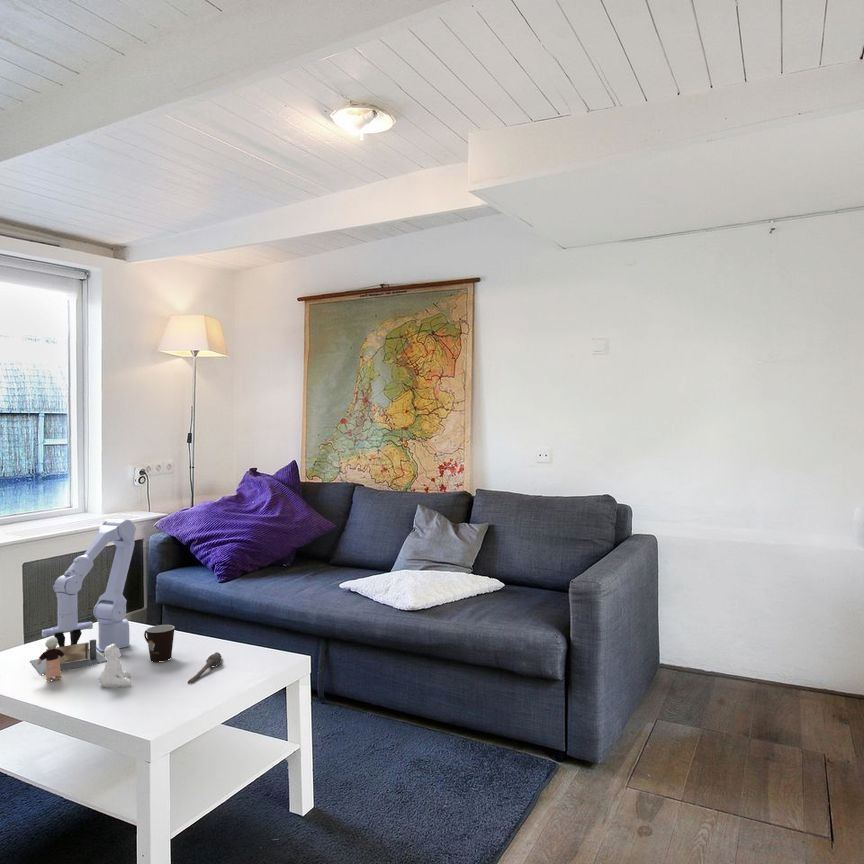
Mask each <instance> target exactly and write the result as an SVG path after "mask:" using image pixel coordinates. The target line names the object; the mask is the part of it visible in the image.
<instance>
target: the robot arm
mask: <svg viewBox="0 0 864 864" xmlns="http://www.w3.org/2000/svg"><path fill="white" fill-rule="evenodd" d="M136 530H137V527H136V525H135V524H134V523H133V521H132V520H130V519H116V518H107V519H105V520H104V521H103V523H102V525H100V526H99V528H98V533H97V535H96V536H95V538H94V539H93V541H92V542H91V543H90V546H89V547H88V548H87V550H86V551H85V553H84V554H83V555H79V556H77V557H75V558H74V559H73V562H72V564H71V565H70V566H69V567H68V568H67V570H65V572H64V574H63V575H61V576H58V577H57V579H55V582H54V585H52V588H53V591H54V592H55V594H56V598H57V626H54V627H49V628H45V629H41V636H42V638H46V637H48V636H49V637H50V636H53V637H55V638H57V640H58V645H57V646H58V647H62V646H66V645H65V644H66V636H65V634H66V633H69V635H70V636H69V637H70V645H74V644H78V642H79V640H80V637H82V634H83V633H82V630H83V631H84V630H92V629H93V625H94V624H93V623H94V622H92V621H86V622H78V621H79V620H78V616H79V615H78V592H79V591H81V590H82V587H83V581H84V579H85V577H86V576H87V575H88V574H89V572H90V571H91V570H92V568H93V567H94V560H95V559H96V558H97V556H98V555H99V554H100V553H101V552H102V550H104V548H105V547H106V546H107V545H108V544H109V543H114V545H115V547H116V549H115V553H114V557H113V561H112V565H111V569H110V573H109V576H108V581H107V584H106V588H105V592H104V593H102V594H101V595H100V596H99V597H98V599H97V600H98V601H97V602H96V604H95V606H94V607H93V610H92V612H93V616H94V618H95V619H96V621H97V623H98V624H97V625H98V626H97V627H98V644H96V650H98V651H99V652H103V653H104V650H105V648H106V647H107V646H110V644H115V646H116V647H117V648H119V649H122V648H127V646H128V647H131V644H130V624H129V623H130V622H129V619H127V618H125V616H126V613H127V601H128V600H127V598H125V596H124V595H123V593H124V589H125V584H126V581H127V576H128V572H129V569H130V565H131V561H132V556H133V553H134V549H135V546H136V545H135V543H136V542H135V536H136Z"/></svg>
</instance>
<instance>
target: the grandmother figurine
mask: <svg viewBox="0 0 864 864" xmlns="http://www.w3.org/2000/svg"><path fill="white" fill-rule="evenodd" d="M44 646H45V647H46V649H50V650H48V651H45V650H44V652H42V654H41V655H39V657H38V659H39V660H38V662H37V664H38V665H40V664H41V662H42V660H44V659H46V658H47V659H46V675H45V677H46V679H45V680H47V681H50V682H52V681H51V680H53V681H54V680H55V681H59V680H58V679H60V680H61V679H62V678H63V675H62V673H61V672H62V671H61V670H60V661H59V658H58V656H60V657H62V659H63V661H66V660H67V658H66V656H65V654H64V653H63V652H62V651H61V650H59V649H55V648H56V647H58V646H59V645H58V640H57V638H55V637H54V636H53V637H52V636H51V637H49V638H48V639H47V640H46V641H45V645H44ZM47 681H46V682H47Z"/></svg>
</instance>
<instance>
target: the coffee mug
mask: <svg viewBox="0 0 864 864" xmlns="http://www.w3.org/2000/svg"><path fill="white" fill-rule="evenodd" d="M174 635H175V626H174V625H171V624H160V625H153V626H151V627H148V628H147V629H146V630H145V631H144V634H143V637H144V640H145V641H146V643H147V645H148V653H149V659H150V660H151V661H153V662H152V663H160V662H159V661H165V660H168V659H170V658H171V659H172V654H173V647H174V646H173V644H174ZM171 659H170V660H171ZM150 660H149V661H150ZM151 661H150V662H151ZM168 661H169V660H168ZM165 662H166V661H165Z"/></svg>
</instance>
